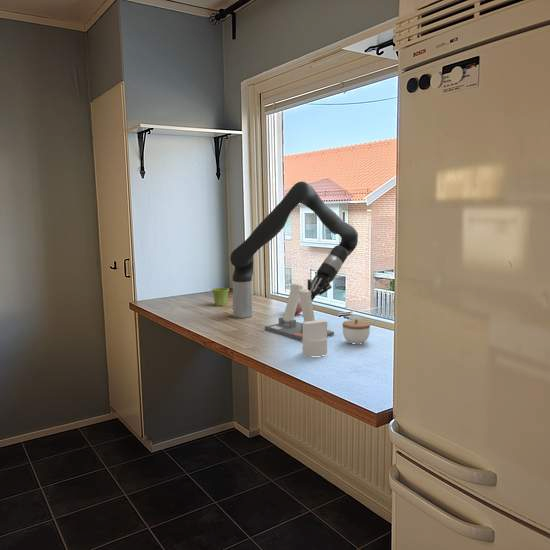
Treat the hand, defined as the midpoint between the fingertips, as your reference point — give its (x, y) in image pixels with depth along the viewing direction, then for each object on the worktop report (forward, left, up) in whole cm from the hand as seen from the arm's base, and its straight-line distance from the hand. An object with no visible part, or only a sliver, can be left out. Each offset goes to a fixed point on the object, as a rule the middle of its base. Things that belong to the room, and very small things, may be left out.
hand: (308, 300), depth 214 cm
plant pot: (-39, +67, -15) cm, 79 cm away
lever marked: (+1, +1, -12) cm, 12 cm away
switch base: (-3, +7, -15) cm, 17 cm away
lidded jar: (+18, -10, -15) cm, 25 cm away
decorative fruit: (-1, +42, -15) cm, 45 cm away
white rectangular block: (0, -24, -15) cm, 28 cm away
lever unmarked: (-8, +13, -12) cm, 19 cm away
